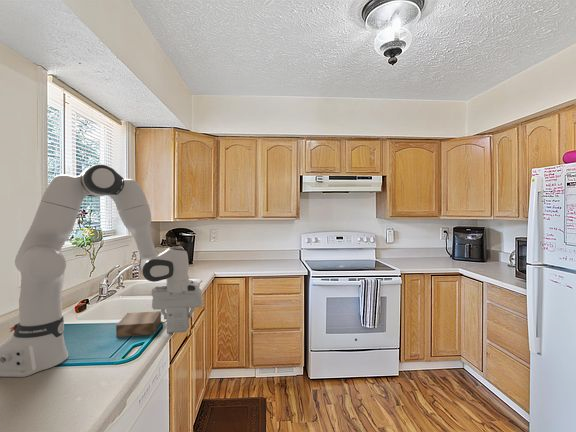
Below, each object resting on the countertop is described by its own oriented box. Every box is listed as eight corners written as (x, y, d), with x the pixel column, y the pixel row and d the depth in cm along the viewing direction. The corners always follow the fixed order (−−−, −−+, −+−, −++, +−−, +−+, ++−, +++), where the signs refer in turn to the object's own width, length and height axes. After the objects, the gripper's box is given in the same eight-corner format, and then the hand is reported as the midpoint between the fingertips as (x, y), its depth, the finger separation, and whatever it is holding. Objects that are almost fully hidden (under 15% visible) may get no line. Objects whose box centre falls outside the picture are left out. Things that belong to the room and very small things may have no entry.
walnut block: (116, 337, 123) (116, 325, 123) (127, 324, 137) (127, 313, 136) (153, 335, 126) (153, 322, 125) (160, 322, 139) (160, 311, 139)
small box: (189, 327, 133) (189, 303, 133) (186, 332, 127) (185, 307, 127) (170, 327, 132) (170, 303, 132) (166, 332, 127) (166, 307, 127)
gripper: (149, 289, 124) (150, 322, 125) (201, 286, 128) (202, 319, 129) (153, 284, 131) (153, 317, 131) (203, 282, 134) (203, 313, 135)
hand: (178, 318), depth 130 cm, fingers closed on small box, 8 cm apart
